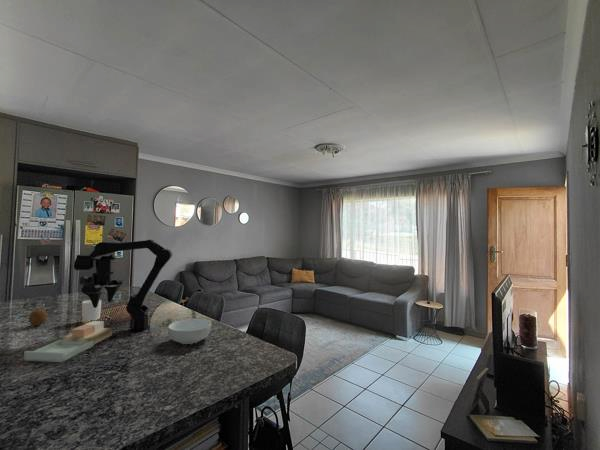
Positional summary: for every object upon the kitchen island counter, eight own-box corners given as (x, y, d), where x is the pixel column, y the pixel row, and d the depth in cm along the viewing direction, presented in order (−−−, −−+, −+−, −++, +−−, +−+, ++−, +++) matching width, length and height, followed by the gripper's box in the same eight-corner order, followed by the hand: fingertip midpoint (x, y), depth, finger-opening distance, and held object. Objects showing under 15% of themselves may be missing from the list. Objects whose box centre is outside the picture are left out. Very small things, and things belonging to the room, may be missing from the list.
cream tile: (103, 328, 125) (103, 321, 125) (94, 332, 120) (94, 325, 120) (92, 328, 125) (92, 321, 125) (83, 332, 120) (83, 324, 120)
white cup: (90, 324, 139) (91, 303, 139) (77, 323, 140) (77, 302, 140) (104, 319, 146) (105, 299, 146) (91, 318, 148) (92, 298, 148)
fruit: (25, 327, 134) (26, 309, 134) (41, 323, 139) (42, 306, 140) (33, 329, 131) (33, 311, 131) (49, 324, 137) (50, 308, 137)
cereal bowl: (219, 337, 124) (219, 321, 125) (189, 352, 109) (190, 333, 109) (190, 331, 132) (190, 315, 132) (158, 344, 116) (158, 326, 117)
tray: (93, 346, 114) (93, 338, 114) (61, 362, 100) (62, 353, 100) (59, 344, 115) (60, 336, 115) (24, 360, 101) (24, 351, 101)
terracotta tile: (93, 332, 120) (93, 325, 120) (83, 337, 115) (84, 329, 115) (82, 332, 120) (82, 325, 120) (71, 336, 115) (72, 329, 115)
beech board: (111, 335, 125) (112, 328, 125) (91, 345, 114) (91, 338, 114) (85, 334, 126) (85, 327, 126) (62, 344, 115) (62, 337, 115)
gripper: (100, 266, 139) (99, 299, 138) (68, 272, 120) (67, 310, 120) (123, 267, 139) (122, 299, 138) (95, 273, 120) (94, 310, 120)
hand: (102, 304), depth 129 cm, fingers open, 9 cm apart
